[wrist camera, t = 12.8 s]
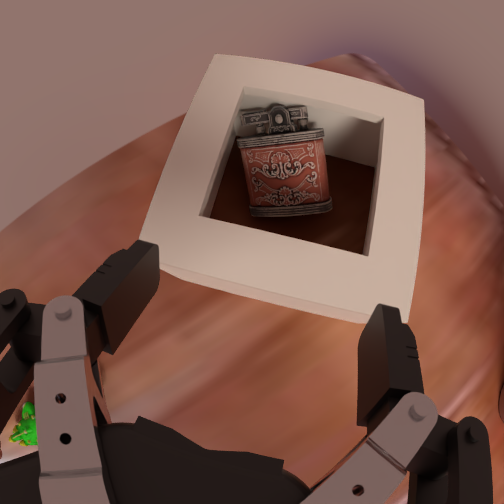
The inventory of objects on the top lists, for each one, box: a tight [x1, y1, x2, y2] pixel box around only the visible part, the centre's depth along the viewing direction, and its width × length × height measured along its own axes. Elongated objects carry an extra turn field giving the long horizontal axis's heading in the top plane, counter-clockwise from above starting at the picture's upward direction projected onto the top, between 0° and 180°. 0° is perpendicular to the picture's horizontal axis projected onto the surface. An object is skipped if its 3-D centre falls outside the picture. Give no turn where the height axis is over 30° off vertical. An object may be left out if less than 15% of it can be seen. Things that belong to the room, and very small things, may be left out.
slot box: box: [139, 54, 425, 323], centre depth 27 cm, size 18×18×12 cm
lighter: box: [237, 105, 333, 217], centre depth 29 cm, size 8×3×10 cm
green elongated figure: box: [9, 402, 38, 446], centre depth 27 cm, size 7×18×4 cm, turn 123°
